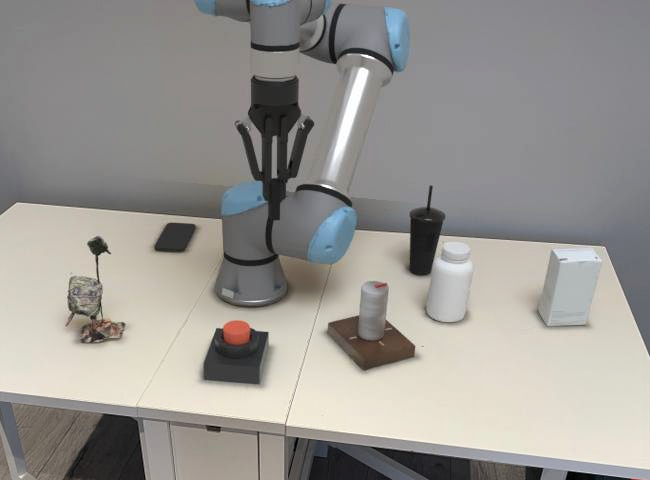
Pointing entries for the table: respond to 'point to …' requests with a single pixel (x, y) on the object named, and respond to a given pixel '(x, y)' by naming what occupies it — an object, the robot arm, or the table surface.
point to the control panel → (370, 344)
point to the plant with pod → (91, 301)
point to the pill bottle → (450, 283)
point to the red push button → (236, 332)
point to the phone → (175, 237)
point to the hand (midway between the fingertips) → (274, 217)
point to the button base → (236, 358)
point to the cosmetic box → (569, 286)
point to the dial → (373, 310)
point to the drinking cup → (424, 237)
